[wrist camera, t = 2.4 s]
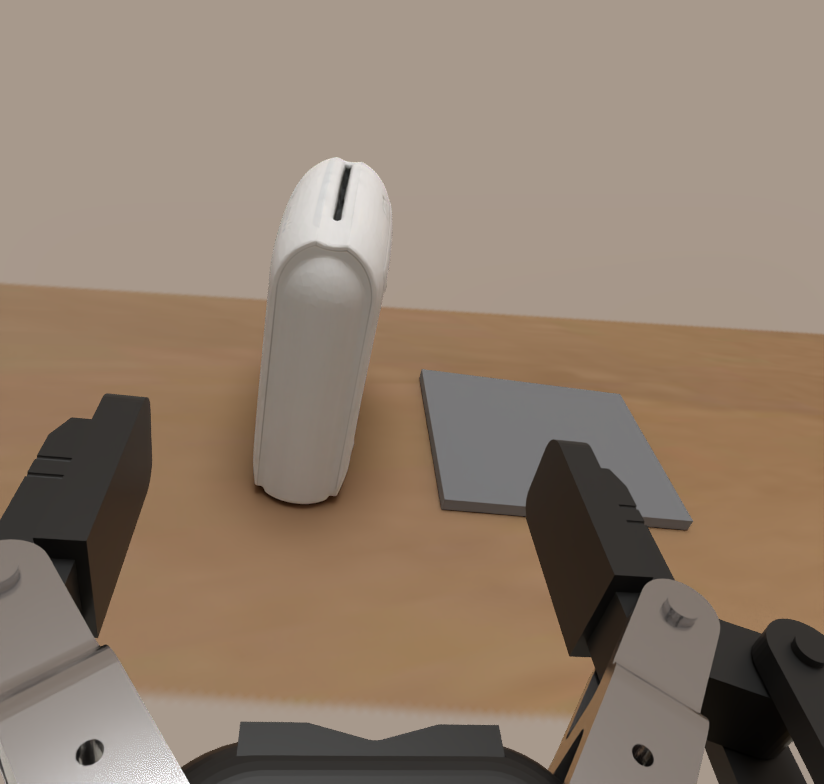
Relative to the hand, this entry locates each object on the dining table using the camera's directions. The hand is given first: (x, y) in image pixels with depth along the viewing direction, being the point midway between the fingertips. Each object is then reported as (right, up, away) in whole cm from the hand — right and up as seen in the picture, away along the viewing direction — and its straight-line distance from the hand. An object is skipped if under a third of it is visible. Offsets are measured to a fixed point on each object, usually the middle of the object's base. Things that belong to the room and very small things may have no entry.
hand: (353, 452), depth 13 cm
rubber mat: (+8, -2, +21) cm, 22 cm away
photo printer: (-4, -1, +18) cm, 18 cm away
